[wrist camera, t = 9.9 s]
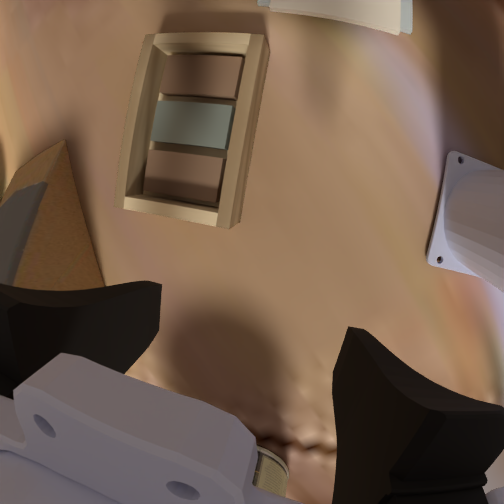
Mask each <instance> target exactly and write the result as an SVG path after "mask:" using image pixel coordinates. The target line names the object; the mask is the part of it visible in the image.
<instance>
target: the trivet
mask: <svg viewBox="0 0 504 504" xmlns="http://www.w3.org/2000/svg"><path fill="white" fill-rule="evenodd" d="M270 1H271V0H258V1H257V4H258V6H267V7H269V5H270ZM400 31H401V32H404V33H407V34H411V33H412V0H401V20H400Z"/></svg>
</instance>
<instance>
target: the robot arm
mask: <svg viewBox="0 0 504 504" xmlns="http://www.w3.org/2000/svg"><path fill="white" fill-rule="evenodd" d="M459 157H460V158H461V159H462V162H461V164H460V163H459V162H458V158H459ZM439 256H441V260H440V262H437V258H438V257H439ZM426 261H427V262H428V263H429V264H430V265H432V266H436V267H441V268H445V269H449V270H453V271H457V272H461V273H465V274H469V275H473V276H477V277H481V278H483V279H485V280H486V281H487V282H489V283H490V284H492V285H493V286H495V287H496V288H498V289H499V290H501V291H502V292H504V170H501V169H499V168H497V167H494V166H492V165H490V164H487V163H485V162H483V161H480V160H478V159H475V158H473V157H470V156H468V155H465V154H462V153H460V152H457V151H450V152H449V153H448V155H447V160H446V167H445V173H444V179H443V184H442V190H441V195H440V200H439V205H438V210H437V214H436V219H435V223H434V228H433V232H432V236H431V240H430V244H429V248H428V251H427V255H426ZM161 291H162V284H159V283H155V282H151V281H136V282H129V283H123V284H118V285H112V286H106V287H99V288H92V289H84V290H68V291H54V290H35V289H27V288H20V287H14V286H10V285H5V284H1V283H0V504H304V503H301V502H298V501H295V500H292V499H289V498H286V497H283V496H280V495H277V494H274V493H272V492H269V491H266V490H264V489H261V488H259V487H256V486H254V485H253V484H252V482H253V477H254V473H255V468H256V464H257V460H258V453H257V445H256V437H255V436H254V435H253V434H252V433H251V432H250V431H249V430H248V429H247V428H246V427H245V426H244V425H243V424H242V422H241V421H240V420H239V419H238V418H237V417H236V416H234V415H232V414H230V413H227V412H225V411H223V410H221V409H219V408H217V407H215V406H212V405H210V404H208V403H206V402H204V401H201V400H198V399H194V398H191V397H188V396H184V395H181V394H178V393H175V392H172V391H169V390H166V389H163V388H160V387H157V386H154V385H151V384H149V383H146V382H143V381H140V380H138V379H135V378H132V377H130V376H127V375H124V374H125V373H126V372H127V370H128V369H129V368H130V367H131V366H132V365H133V364H134V363H135V362H136V361H137V359H138V358H139V357H140V356H141V355H142V354H143V353H144V352H145V350H146V349H147V348H148V347H149V345H150V344H151V342H152V341H153V339H154V338H155V336H156V334H157V333H158V331H159V322H160V305H161ZM332 396H333V406H334V415H335V425H336V435H337V459H336V473H335V483H334V492H333V500H332V504H504V487H501V488H496V489H494V490H491V491H490V492H488V493H487V494H485V493H484V490H483V488H482V486H485V484H486V483H487V478H486V475H485V472H486V470H487V469H488V468H489V467H490V466H491V465H492V463H493V462H494V461H495V460H496V458H497V457H498V456H499V455H500V453H501V452H502V451H503V449H504V408H503V407H502V406H500V405H495V404H491V403H487V402H483V401H479V400H475V399H472V398H469V397H466V396H464V395H461V394H458V393H456V392H453V391H451V390H449V389H447V388H445V387H442V386H440V385H438V384H436V383H434V382H433V381H431V380H429V379H427V378H426V377H424V376H423V375H421V374H419V373H418V372H416V371H415V370H413V369H412V368H410V367H409V366H408V365H406V364H405V363H404V362H403V361H401V360H400V359H399V358H398V357H396V356H395V355H394V354H393V353H392V352H390V351H389V350H388V349H387V348H386V347H385V346H384V345H383V344H381V343H380V342H379V341H378V340H377V339H376V338H375V337H374V336H372V335H371V334H370V333H369V332H367V331H366V330H364V329H360V328H354V327H349V326H348V329H347V332H346V335H345V338H344V341H343V344H342V347H341V350H340V353H339V356H338V359H337V362H336V364H335V367H334V370H333V381H332Z"/></svg>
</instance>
